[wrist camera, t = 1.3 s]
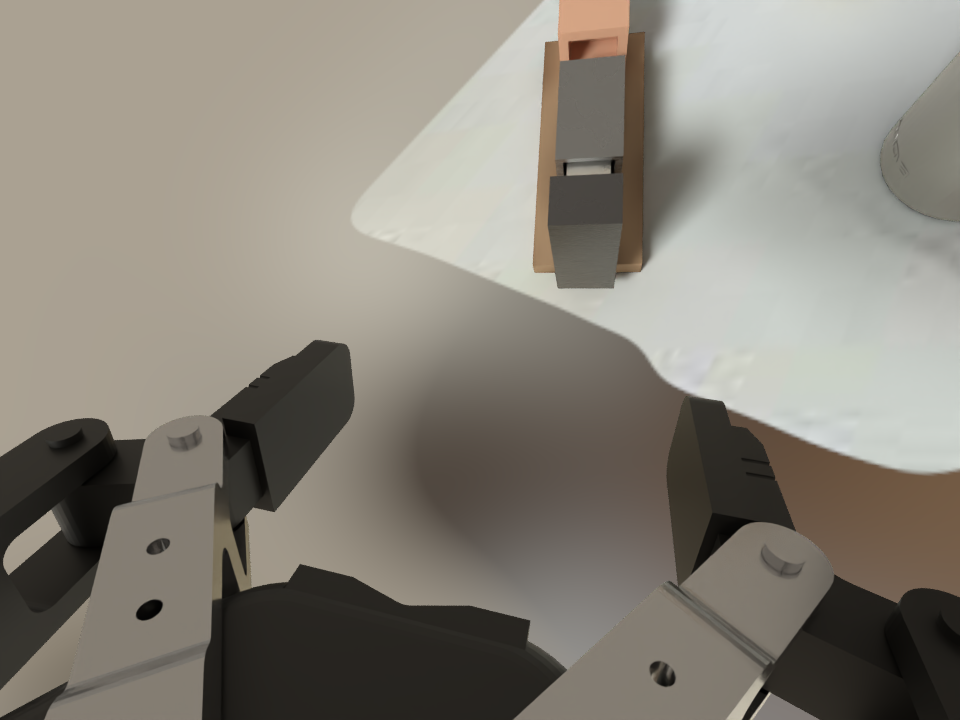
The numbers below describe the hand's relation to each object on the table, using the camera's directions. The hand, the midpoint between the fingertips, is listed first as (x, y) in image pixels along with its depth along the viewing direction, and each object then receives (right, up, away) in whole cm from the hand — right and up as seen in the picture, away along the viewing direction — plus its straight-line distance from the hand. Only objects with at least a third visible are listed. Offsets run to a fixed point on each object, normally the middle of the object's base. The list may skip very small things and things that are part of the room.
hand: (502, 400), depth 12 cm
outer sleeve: (+8, +18, +28) cm, 34 cm away
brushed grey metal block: (+8, +14, +27) cm, 31 cm away
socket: (+9, +26, +30) cm, 40 cm away
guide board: (+8, +18, +29) cm, 35 cm away
